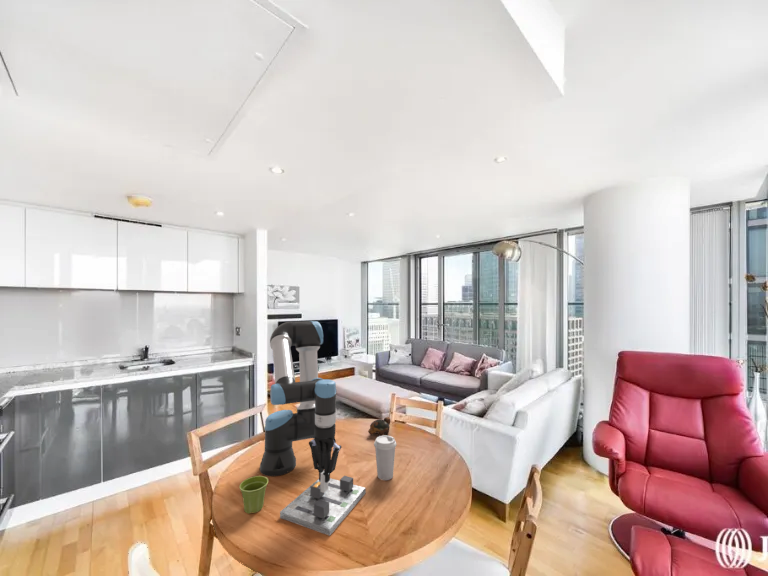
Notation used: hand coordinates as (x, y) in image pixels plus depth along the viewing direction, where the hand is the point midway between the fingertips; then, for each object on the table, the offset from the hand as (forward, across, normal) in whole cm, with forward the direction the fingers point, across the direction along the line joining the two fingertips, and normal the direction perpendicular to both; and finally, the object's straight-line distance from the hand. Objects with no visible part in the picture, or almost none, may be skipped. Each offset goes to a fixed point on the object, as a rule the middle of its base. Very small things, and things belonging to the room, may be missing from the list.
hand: (324, 490), depth 113 cm
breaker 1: (+2, -3, 0) cm, 4 cm away
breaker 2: (+2, +5, -8) cm, 10 cm away
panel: (+5, +1, 0) cm, 5 cm away
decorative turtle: (+6, -7, +63) cm, 64 cm away
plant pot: (+5, -21, -12) cm, 25 cm away
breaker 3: (+2, +5, +8) cm, 9 cm away
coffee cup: (+5, +13, +26) cm, 29 cm away
